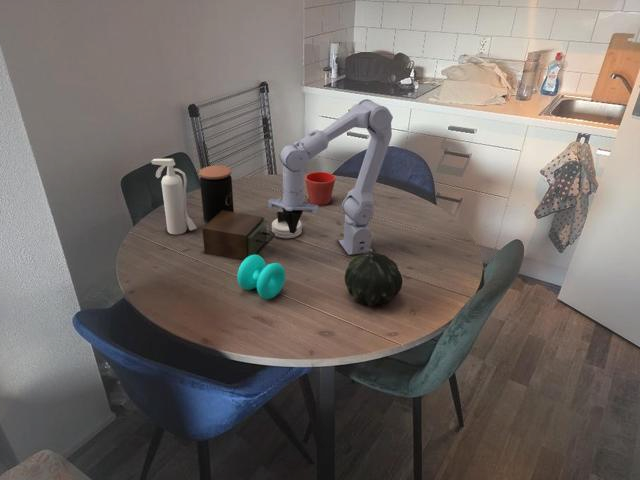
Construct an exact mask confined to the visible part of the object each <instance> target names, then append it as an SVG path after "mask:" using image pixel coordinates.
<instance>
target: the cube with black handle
mask: <svg viewBox="0 0 640 480" xmlns="http://www.w3.org/2000/svg"><path fill="white" fill-rule="evenodd" d="M283 210H284V209H283V208H278V210H276V211H277V218H278V224H281V225H287V226H288V224H287V222H286V220H285V218H284V216H283V215H282V212H283Z"/></svg>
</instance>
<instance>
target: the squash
mask: <svg viewBox="0 0 640 480" xmlns="http://www.w3.org/2000/svg"><path fill="white" fill-rule="evenodd" d="M344 284H345V286H346V288H347V292H348V293H349V294H350V295H351V296H353V299H354V301H355V302H356V303H357V304H359V305H362V304H366V305H367V306H368V307H375V306H376V305H378V304H379V305H388V304H389V303H390V302H391V301H393V299H394V298H395V297H397V295H398V294H399V293H400V292H401V290H402V287H403V277H402V274H401V271H400V270H399V267H398V264H397V263H396V262H395V261H394V260H392V258H391V259H390V258H389V256H387V255H386V254H383V253H379V252H376V251H373V252H372V251H369V252H366V253H361V254H357V255H356V256H354V257H353V258H352V259H351V260H350V261H349V262H348V265H347V268H346V269H345V273H344Z"/></svg>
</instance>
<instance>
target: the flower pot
mask: <svg viewBox="0 0 640 480" xmlns="http://www.w3.org/2000/svg"><path fill="white" fill-rule="evenodd" d="M335 182H336V176H335V175H334V174H332V173H330V172H327V171H313V172H310V173H308V174H306V175H305V184H306V189H307V195H308V201H309V203H310V204H314V205H318V206H325V205H328V204H329V203H330V202H331V199H332V195H333V192H334V191H333V190H334V188H335V187H334V186H335Z"/></svg>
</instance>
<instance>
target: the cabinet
mask: <svg viewBox="0 0 640 480" xmlns="http://www.w3.org/2000/svg"><path fill="white" fill-rule="evenodd" d="M263 220H265V216H260V215H256V214H255V215H254V214H249V213H243V212H236V211H234V212H230V211H224V210H222V211H221V212H220V213H219V214H218V215H216V216H215V217H214V218H213V219H212V220H211V221H210V222H209V223H207V222H206V224H205V225H204V226H203V227H202V228H201V229H202V239H203V249H204V254H210V255H214V256H220V257H226V258H231V259H236V260H241V261H244V260H245V259H246V258H247V257H248V244H247V237H248V236H249V235H250V233H251V232H252V231H253V230H254V229H255V228H256V227H257V226H258V225H259V224H260V223H261V222H262V221H263Z"/></svg>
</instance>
